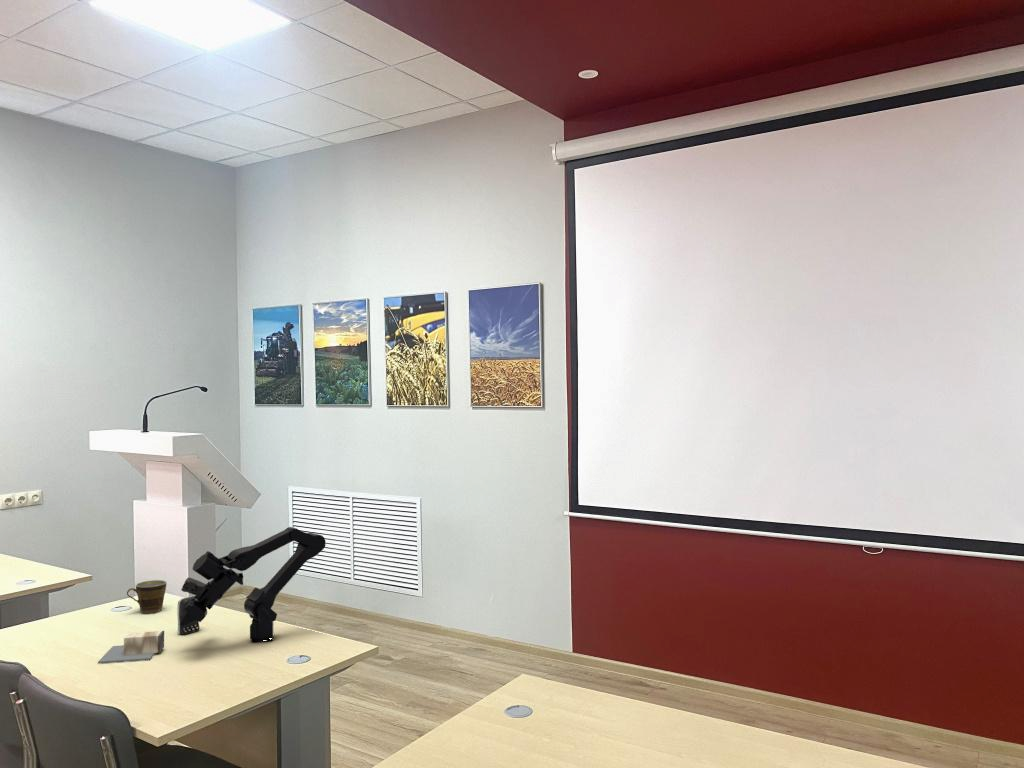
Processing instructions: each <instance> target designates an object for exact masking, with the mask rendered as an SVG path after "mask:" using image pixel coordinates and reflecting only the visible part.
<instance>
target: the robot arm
mask: <svg viewBox="0 0 1024 768" xmlns="http://www.w3.org/2000/svg"><path fill="white" fill-rule="evenodd" d="M292 542H296V543H297V546H296V549H295V551H294V553H293V554H292V555H291V556H290V558H289V559H288V560H286V562H285V563H284V564H283V565H282V566H281V567H280V569H279V570H277V572H276V574H274V576H273V577H272V578H270V580H269V581H268V582H267V583H266V585H264V587H261V588H259V587H254V588H253V589H252V591H251V592H250V593H249V594H248V595H246V597H245V598H246V599H245V601H244V603H243V606H244V607H243V608H244V611H245V612H246V613H247V614H248V616H249V618H250V619H252V620H251V624H250V626H249V640H250V642H251V641H252V642H251V643H254V642H253V641H263V640H270V639H269V638H272V639H273V640H274V638H273V633H274V622H275V621H276V619H277V616H278V613H277V612H275V611H274V610H273V609H272V608H273V606H274V604H275V602H276V601H275V600H276V598H277V596H278V594H279V593H280V592H281V591H282V590H283V588H285V586H286V585H287V584H288V583H289V582H290V581H291V579H292V578H294V576H295V575H296V574H297V572H299V570H300V569H301V568H302V567H303V566H304V564H306V562H307V561H310V560H312V559H313V558H314V557H316V556H317V555H319V554H320V553H321V552H322V551H324V549H326V546H327V544H326V538H325V537H324V535H322V534H318V533H314V532H305V531H302V530H299V528H296V527H292V526H288V527H287V528H285V529H283V530H282V531H279V532H278V533H276V534H273V535H271V536H270V537H268V538H266V539H263V540H262V541H260V542H258V543H256V544H254V545H253V544H252V545H249V546H243V547H240V548H237V549H234V550H231V551H230V552H229V553H228V554H227V555H224V556H222V557H217V556H216V555H214V554H213V553H212V552H211V551H208V550H207V551H206V552H205V553H204V554H203V555H201V556H200V557H198V558H197V559H196V560H195V562H194V563H193V566H192V571H194V572H195V573H197V574H198V575H200V576H201V577H203V578H205V579H206V580H207V581H208V582H207V583H205V582H203V581H200V580H198V579H194V578H192V577H187V578H186V579H185V580H184V583H183V584H182V587H181V589H180V590H181V592H183V593H189V594H191V595H192V596H195V597H194V598H195V599H196V600H195V599H192V600H191V602H189V604H188V605H187V606H186V607H185V608H184V609H185V610H186V611H187V614H186V615H185V617H184V618H183V620H182V621H181V623H180V625H181V626H185V625H187V624H189V623H191V622H193V621H196V620H197V621H198V622H199V623H201V622H202V621H203V620H204V619H205V618H206V617H207V615H208V610H211V609H213V606H214V605H215V604H217V602H218V601H219V600H221V598H223V596H224V595H225V594H226V593H228V591H229V590H230V589H231V587H233V586H234V585H235V584H236V583H238V584H239V585H242V586H243V585H244V574H243V573H242V572H244V571H247V570H248V569H250V568H251V567H253V566H254V565H255V564H256V563H257V562H258V561H259V560H260V559H261V558H263V557H264V556H266V555H268V554H270V553H273V552H274V551H277V550H278V549H280V548H282V547H284V546H286V545H288V544H290V543H292ZM227 568H228V569H227ZM233 569H235V570H237V571H239V572H236V571H235V570H233ZM272 639H271V640H272ZM273 640H272V641H273Z"/></svg>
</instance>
